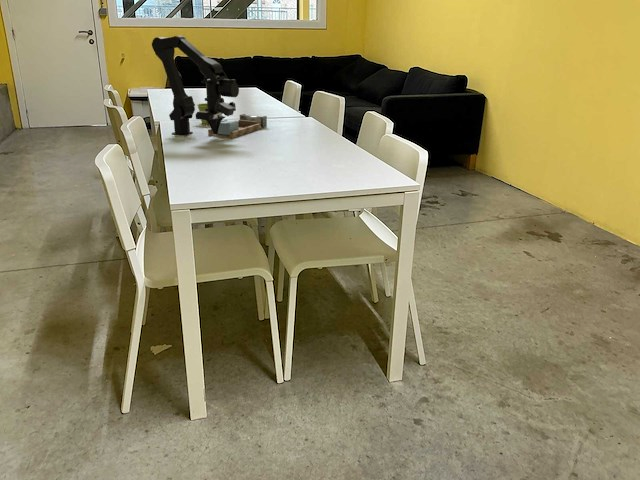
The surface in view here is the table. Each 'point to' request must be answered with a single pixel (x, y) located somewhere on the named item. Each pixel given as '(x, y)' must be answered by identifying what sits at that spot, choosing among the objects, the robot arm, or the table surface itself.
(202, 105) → the plant pot
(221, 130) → the grey box
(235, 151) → the table surface
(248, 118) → the winch drum
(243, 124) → the brown tray
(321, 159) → the table surface
